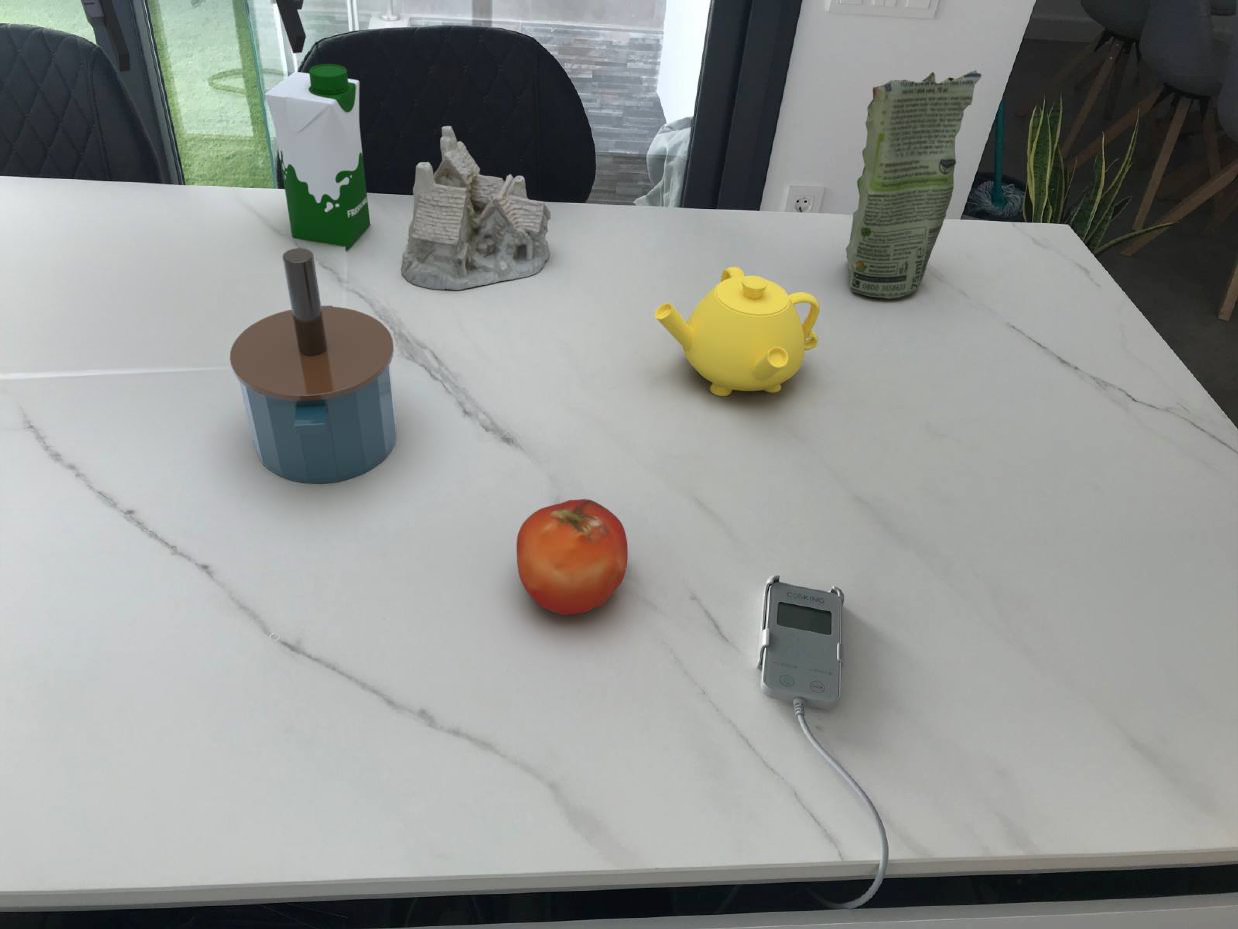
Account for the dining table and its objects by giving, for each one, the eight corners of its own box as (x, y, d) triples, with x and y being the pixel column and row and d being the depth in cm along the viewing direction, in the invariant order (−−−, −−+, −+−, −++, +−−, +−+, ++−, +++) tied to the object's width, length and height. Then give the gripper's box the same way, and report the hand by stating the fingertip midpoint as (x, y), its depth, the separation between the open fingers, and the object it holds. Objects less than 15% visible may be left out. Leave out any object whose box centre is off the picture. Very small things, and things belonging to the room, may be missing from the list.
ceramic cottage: (381, 273, 113) (379, 149, 104) (452, 221, 126) (456, 105, 116) (501, 316, 110) (510, 191, 101) (562, 258, 122) (575, 142, 113)
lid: (223, 411, 79) (196, 303, 72) (241, 320, 89) (218, 217, 82) (395, 402, 82) (384, 296, 75) (393, 314, 92) (384, 214, 85)
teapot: (643, 379, 102) (654, 286, 94) (707, 323, 111) (721, 234, 103) (767, 434, 96) (788, 339, 89) (823, 370, 105) (847, 280, 98)
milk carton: (352, 255, 117) (331, 86, 103) (280, 243, 118) (251, 74, 104) (380, 222, 123) (364, 60, 110) (312, 211, 124) (288, 49, 111)
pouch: (822, 288, 118) (872, 79, 102) (844, 246, 127) (893, 47, 111) (914, 312, 116) (980, 102, 99) (929, 268, 124) (993, 67, 108)
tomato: (544, 647, 74) (547, 576, 69) (496, 567, 80) (495, 495, 75) (649, 607, 78) (659, 537, 73) (596, 533, 84) (601, 463, 79)
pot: (246, 509, 83) (225, 422, 77) (265, 384, 97) (247, 301, 90) (397, 498, 86) (388, 413, 79) (395, 378, 99) (387, 296, 93)
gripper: (282, -170, 87) (357, 59, 87) (-39, -167, 76) (48, 94, 77) (292, -234, 80) (373, 14, 81) (-59, -241, 69) (37, 45, 70)
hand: (215, 54), depth 79 cm, fingers open, 13 cm apart
